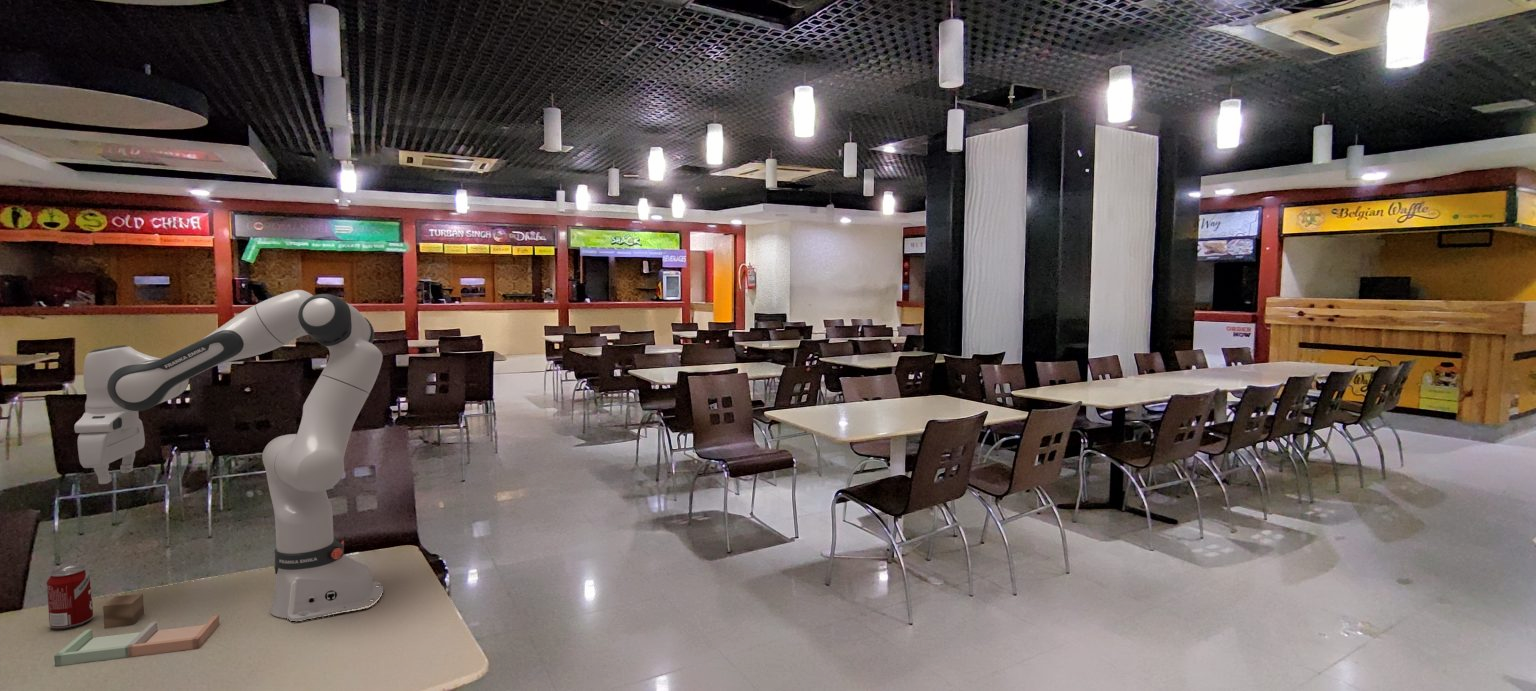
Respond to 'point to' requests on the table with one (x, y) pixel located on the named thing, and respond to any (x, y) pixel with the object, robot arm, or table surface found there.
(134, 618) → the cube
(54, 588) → the soda can
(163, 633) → the green and pink trays
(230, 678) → the table surface
